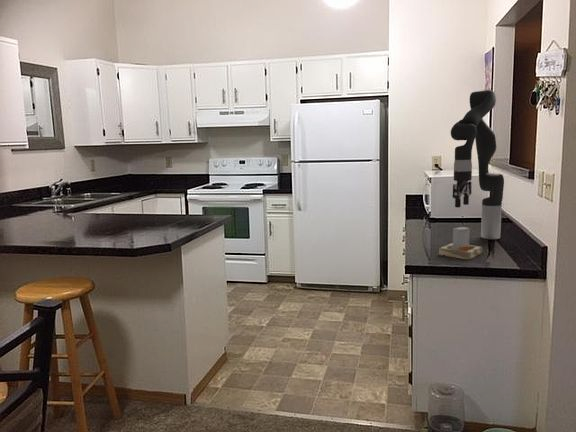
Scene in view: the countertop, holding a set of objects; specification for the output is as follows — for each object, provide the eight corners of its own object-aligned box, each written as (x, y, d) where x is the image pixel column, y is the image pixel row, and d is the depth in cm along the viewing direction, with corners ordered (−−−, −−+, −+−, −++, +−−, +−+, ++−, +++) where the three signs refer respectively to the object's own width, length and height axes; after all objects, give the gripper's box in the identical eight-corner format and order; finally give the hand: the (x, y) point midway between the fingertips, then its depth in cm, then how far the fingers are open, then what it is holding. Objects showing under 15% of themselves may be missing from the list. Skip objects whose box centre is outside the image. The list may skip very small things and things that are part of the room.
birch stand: (452, 248, 232) (452, 242, 232) (482, 253, 223) (482, 246, 222) (438, 254, 223) (439, 248, 222) (469, 259, 213) (469, 252, 212)
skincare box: (457, 255, 220) (458, 229, 218) (452, 253, 224) (452, 227, 222) (469, 254, 222) (470, 228, 220) (463, 252, 226) (464, 226, 224)
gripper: (461, 168, 224) (460, 203, 227) (447, 171, 214) (446, 207, 217) (477, 168, 219) (476, 204, 222) (464, 171, 209) (463, 209, 212)
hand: (461, 206), depth 219 cm, fingers open, 8 cm apart
